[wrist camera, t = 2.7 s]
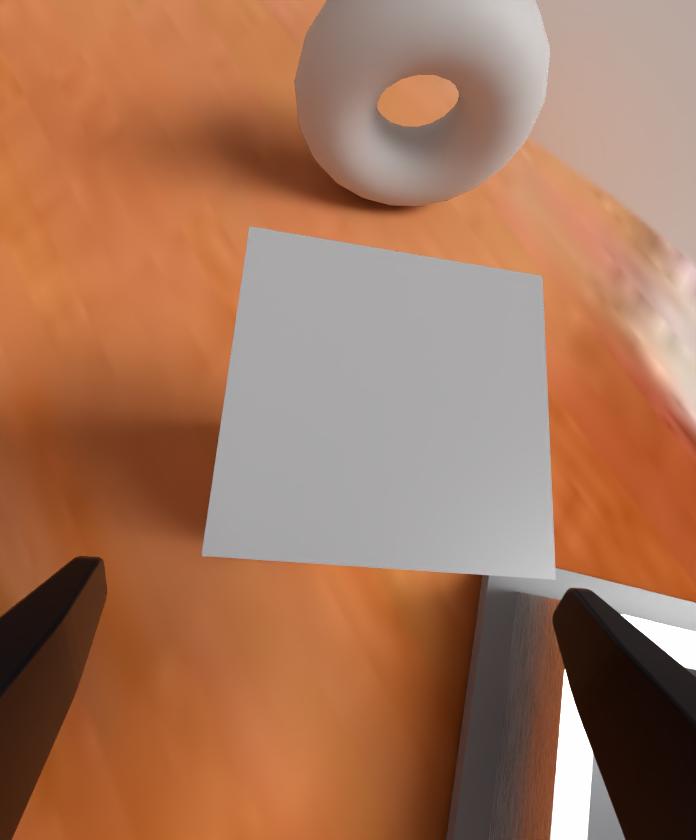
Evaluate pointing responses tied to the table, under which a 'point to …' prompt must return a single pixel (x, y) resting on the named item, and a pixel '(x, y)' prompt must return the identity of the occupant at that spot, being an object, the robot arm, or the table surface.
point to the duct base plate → (490, 687)
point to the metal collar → (551, 730)
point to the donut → (425, 55)
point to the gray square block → (384, 414)
